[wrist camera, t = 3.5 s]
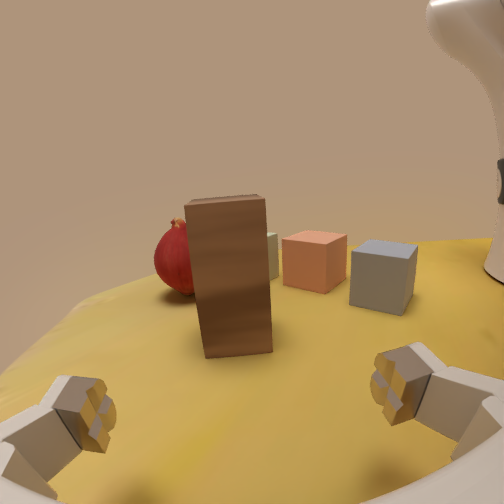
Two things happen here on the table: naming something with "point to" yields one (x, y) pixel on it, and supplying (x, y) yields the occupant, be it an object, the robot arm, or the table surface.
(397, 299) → the cube slate
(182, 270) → the pomegranate
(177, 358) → the table surface
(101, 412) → the robot arm
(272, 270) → the cube sage
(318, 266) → the cube terracotta
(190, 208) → the block walnut
